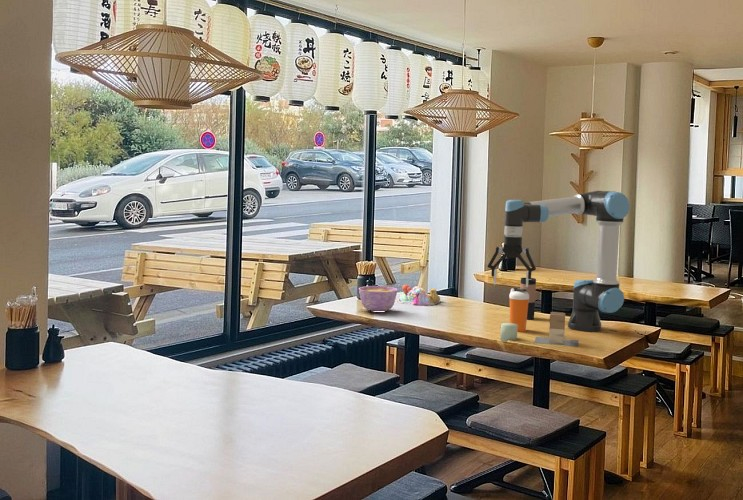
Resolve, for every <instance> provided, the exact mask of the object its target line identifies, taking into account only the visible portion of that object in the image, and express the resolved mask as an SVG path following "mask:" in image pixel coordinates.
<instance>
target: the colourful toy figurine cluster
mask: <svg viewBox="0 0 743 500" xmlns="http://www.w3.org/2000/svg"><path fill="white" fill-rule="evenodd" d="M437 291H438V290H437V289H436V288H434V287H433V288H431V289H430V290H429V293H426V290H425V289H424V288H423V287H421V286H417V285H416V286H414V287H411V286H410V285H408V284H403V285H402V292H403V294H402V293H401V294H399V296H398V297H397V299H398V301H400V302H403V303H402V304H404V303H410V304H409V305H411V304H414V305H413V306H423V305H424V306H434V305H438V303H442V301H441V297H440V296H439V294H437Z"/></svg>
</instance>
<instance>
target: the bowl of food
mask: <svg viewBox="0 0 743 500" xmlns="http://www.w3.org/2000/svg"><path fill="white" fill-rule="evenodd" d="M358 293H359V296H360V297H359V298H360V301H361V305H362V306H363V308H364V309H366V310H368V311H370V310H371V311H389V310H391V309H392V308H393V306H394V305H395V301H396V299H397V298H396V297H397V294H398V288H396V287H392V286H387V285H385V286H384V285H366V286H361V287H359V288H358Z"/></svg>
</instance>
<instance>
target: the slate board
mask: <svg viewBox="0 0 743 500" xmlns="http://www.w3.org/2000/svg"><path fill="white" fill-rule="evenodd" d="M533 343H534V344H540V345H553V346H564V347H577V348H578V347H579V340H578V339H568V338H564V343H563V344H562V343H550V342H549V337H543V336H535V338H534V341H533Z"/></svg>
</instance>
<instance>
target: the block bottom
mask: <svg viewBox="0 0 743 500" xmlns="http://www.w3.org/2000/svg"><path fill="white" fill-rule="evenodd" d="M548 330H549V331H548V333H549V334H548V338H549V342H550V343H562V344H563V343H564V339H565V332H566V331H565V330H566V328H564V330H563V329H550V327H549V329H548Z"/></svg>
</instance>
